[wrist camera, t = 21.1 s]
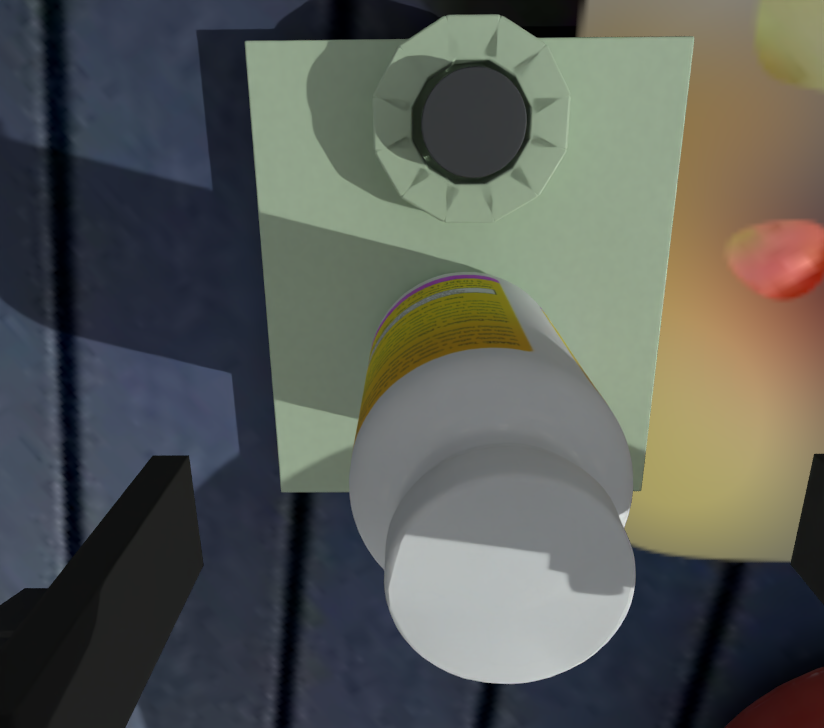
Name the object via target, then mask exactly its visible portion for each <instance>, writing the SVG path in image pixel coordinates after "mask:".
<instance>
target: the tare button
mask: <svg viewBox="0 0 824 728" xmlns="http://www.w3.org/2000/svg"><path fill="white" fill-rule="evenodd" d="M526 126H527V114H526V108H525V104H524V101H523V99H522V96H521V94H520V92H519V91H518V89H517V88H516V86H515V85H514V84H513V83H512V82H511V81H510V80H509V79H508V78H507V77H506V76H504V75H503V74H502V73H500V72H498V71H496V70H493V69H491V68H487V67H481V66H471V67H465V68H461V69H458V70H455V71H453V72H451V73H449V74H448V75H446V76H445V77H444V78H442V79H441V80H440V81H439V82H438V83H437V84H436V85H435V87H434V88H433V89H432V91H431V92H430V94H429V95H428V98H427V100H426V102H425V105H424V108H423V112H422V117H421V131H422V136H423V140H424V143H425V145H426V147H427V150H428V152H429V153H430V155H431V156H432V158H433V159H434V160H435V161H436V162H437V163H438V164H439V165H440V166H441V167H442V168H444V169H445V170H446V171H448V172H450V173H452V174H454V175H457V176H461V177H466V178H480V177H484V176H488V175H491V174H493V173H495V172H497V171H499V170H501V169H502V168H503V167H505V166H506V165H507V164H508V163H509V162H510V161H511V160H512V159H513V158H514V157H515V155H516V154H517V152H518V151H519V149H520V147H521V145H522V143H523V140H524V137H525V133H526Z"/></svg>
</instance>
